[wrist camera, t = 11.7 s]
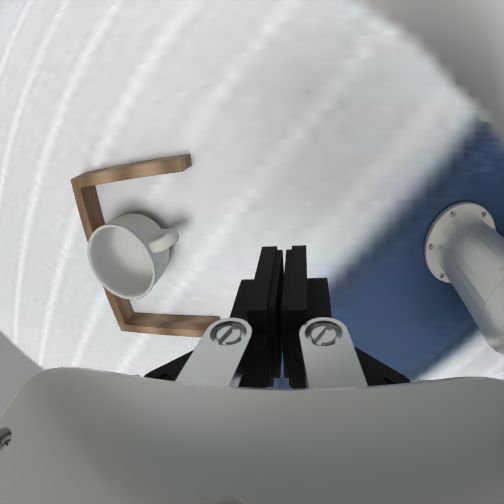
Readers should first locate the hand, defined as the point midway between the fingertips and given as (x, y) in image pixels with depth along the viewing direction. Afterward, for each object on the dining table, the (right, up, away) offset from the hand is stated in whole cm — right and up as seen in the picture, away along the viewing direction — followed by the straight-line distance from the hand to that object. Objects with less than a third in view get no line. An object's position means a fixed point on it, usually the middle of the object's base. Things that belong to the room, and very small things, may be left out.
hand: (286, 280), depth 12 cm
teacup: (-16, +3, +32) cm, 36 cm away
